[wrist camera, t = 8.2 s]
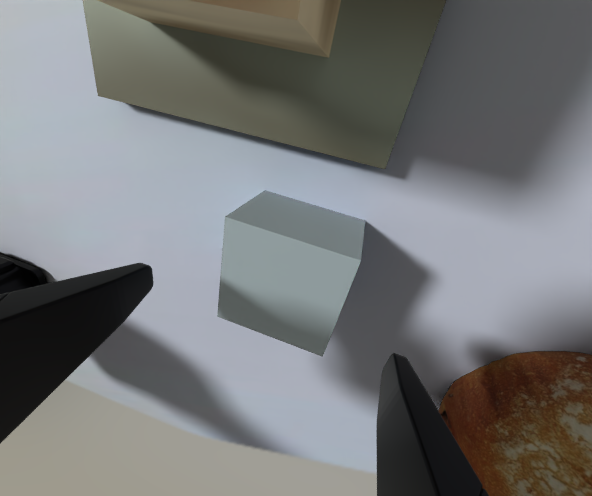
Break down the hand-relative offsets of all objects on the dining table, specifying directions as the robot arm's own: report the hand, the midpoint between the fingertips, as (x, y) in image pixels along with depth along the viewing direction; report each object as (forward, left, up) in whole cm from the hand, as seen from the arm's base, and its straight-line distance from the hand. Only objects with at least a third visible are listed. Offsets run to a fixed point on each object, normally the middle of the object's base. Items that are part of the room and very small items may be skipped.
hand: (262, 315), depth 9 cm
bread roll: (-6, -15, -6) cm, 17 cm away
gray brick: (0, 0, -5) cm, 5 cm away
